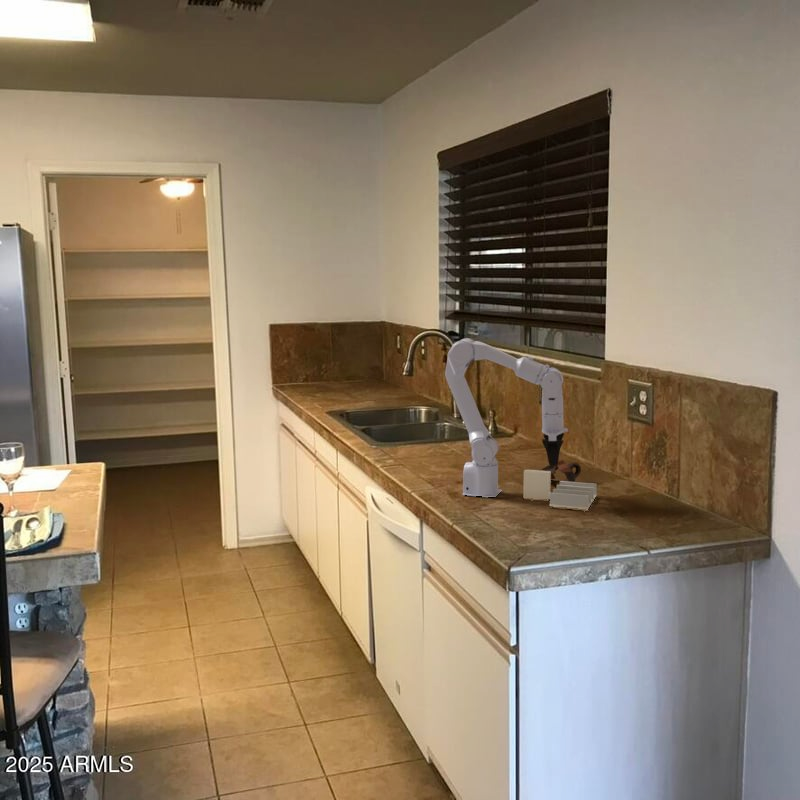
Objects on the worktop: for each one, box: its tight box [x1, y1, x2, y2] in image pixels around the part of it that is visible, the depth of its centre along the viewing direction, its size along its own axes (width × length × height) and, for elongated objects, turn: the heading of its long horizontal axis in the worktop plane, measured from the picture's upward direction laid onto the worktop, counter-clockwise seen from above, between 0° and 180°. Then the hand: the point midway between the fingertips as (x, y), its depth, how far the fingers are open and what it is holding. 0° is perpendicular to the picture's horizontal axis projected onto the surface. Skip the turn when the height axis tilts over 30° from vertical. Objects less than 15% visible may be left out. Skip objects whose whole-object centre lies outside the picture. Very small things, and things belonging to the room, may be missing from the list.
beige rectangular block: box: [522, 469, 552, 500], centre depth 237 cm, size 7×2×8 cm, turn 69°
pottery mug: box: [540, 459, 582, 482], centre depth 254 cm, size 12×10×8 cm
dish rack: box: [549, 480, 598, 511], centre depth 233 cm, size 10×15×4 cm, turn 159°
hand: (553, 462), depth 238 cm, fingers open, 7 cm apart
